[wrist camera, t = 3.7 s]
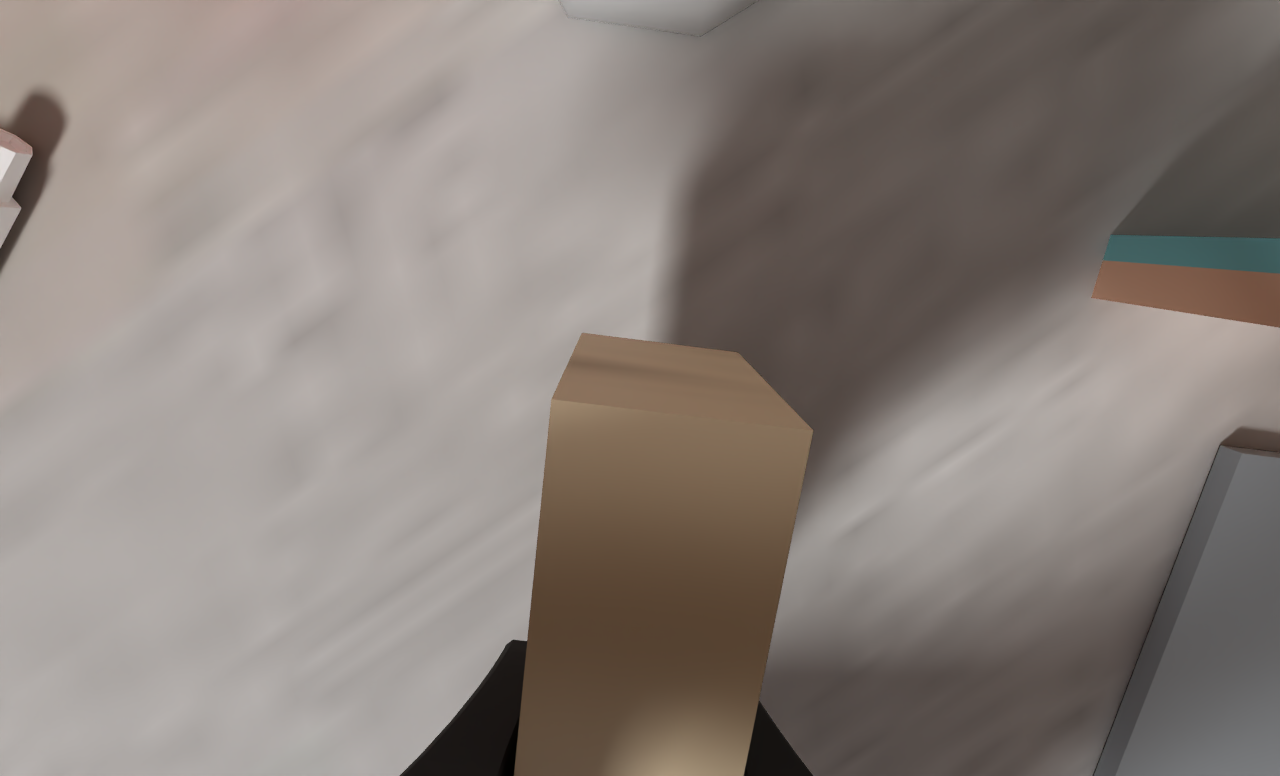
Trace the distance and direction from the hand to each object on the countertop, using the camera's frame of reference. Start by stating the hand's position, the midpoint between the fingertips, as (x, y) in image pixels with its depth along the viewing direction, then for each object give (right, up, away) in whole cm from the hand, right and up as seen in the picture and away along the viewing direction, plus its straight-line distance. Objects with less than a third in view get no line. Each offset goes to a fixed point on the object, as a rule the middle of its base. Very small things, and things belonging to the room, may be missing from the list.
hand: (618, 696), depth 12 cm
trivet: (+19, -2, +6) cm, 20 cm away
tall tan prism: (0, +2, +1) cm, 2 cm away
